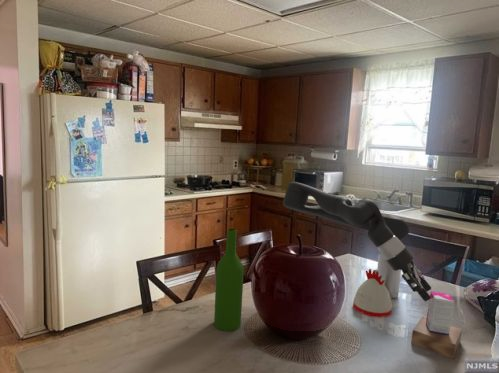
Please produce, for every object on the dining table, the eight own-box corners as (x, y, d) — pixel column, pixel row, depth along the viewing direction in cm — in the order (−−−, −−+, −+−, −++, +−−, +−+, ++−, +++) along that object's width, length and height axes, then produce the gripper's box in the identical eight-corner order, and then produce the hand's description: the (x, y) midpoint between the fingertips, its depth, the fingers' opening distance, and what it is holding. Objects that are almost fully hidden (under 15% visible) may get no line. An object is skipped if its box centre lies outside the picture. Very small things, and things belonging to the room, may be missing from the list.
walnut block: (410, 344, 117) (412, 329, 117) (420, 330, 127) (422, 316, 126) (453, 360, 110) (455, 344, 109) (460, 343, 119) (462, 329, 119)
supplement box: (450, 336, 114) (455, 301, 112) (429, 332, 116) (434, 298, 114) (444, 326, 120) (449, 293, 118) (425, 323, 121) (429, 290, 119)
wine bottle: (245, 321, 125) (250, 228, 121) (233, 334, 117) (237, 234, 113) (222, 315, 129) (226, 224, 125) (209, 326, 121) (212, 230, 117)
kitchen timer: (369, 297, 150) (372, 262, 148) (398, 311, 139) (403, 273, 137) (345, 304, 143) (348, 267, 141) (375, 320, 131) (379, 280, 129)
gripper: (388, 253, 128) (419, 292, 125) (382, 264, 116) (417, 309, 112) (406, 241, 125) (439, 281, 122) (402, 251, 113) (439, 297, 109)
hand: (428, 294), depth 117 cm, fingers open, 8 cm apart
